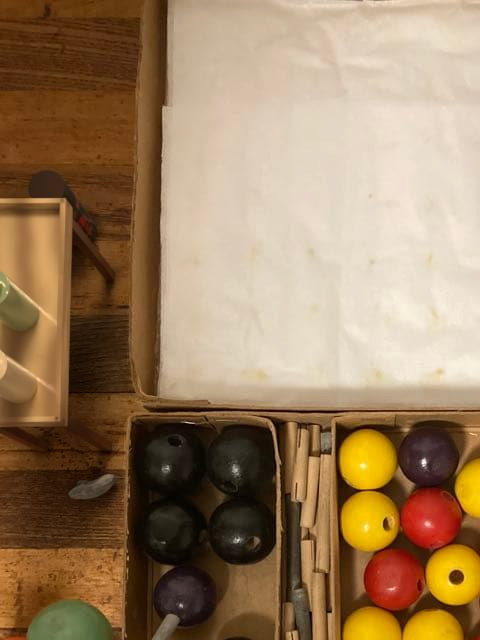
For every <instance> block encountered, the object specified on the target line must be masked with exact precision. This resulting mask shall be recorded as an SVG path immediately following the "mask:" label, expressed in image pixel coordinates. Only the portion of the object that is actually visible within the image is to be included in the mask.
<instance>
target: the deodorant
mask: <svg viewBox="0 0 480 640" xmlns="http://www.w3.org/2000/svg"><path fill="white" fill-rule="evenodd" d="M27 185H28V186H27V190H28V195H29V198H66V200H67V201H68V202H69V204H70V205H71V206H72V208H73V217H72V218H73V219H74V221H75V222H76V223H77V224H78V226H79V227H80V228H81V229H82V231H83V232H84V233H85V234H86V236H87V237H88V238H89V240H90V241H91V242H92V243H93V241H94V239H96V236H97V234H98V233H97V232H98V227H97V224H96V222H95V220H94V219H93V217H92V216H91V214H89V211H87V210H86V208H85V207H84V205H83V204H82V203H81V201H80V200H79V199H78V197H77V196H76V195H75V193H74V192H73V190H72V189H71V188H70V186H69V185H68V184H67V182H66V181H65V180H64V178H63V177H62V176H61V175H60V174H59V173H58V172H56V171H53V170H50V169H43V170H40V171H38V172H36V173H35V174H34V175H32V177H31V178H30V180H29V182H28V184H27ZM72 246H75V247H78V246H77V245H76V244H75V243H74V241H73V240H72Z"/></svg>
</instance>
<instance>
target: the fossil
mask: <svg viewBox="0 0 480 640" xmlns="http://www.w3.org/2000/svg"><path fill="white" fill-rule="evenodd" d="M116 480H117V478H116V476H115V475H114V474H112V473H111V474H110V473H107V474H104V475H102V476H100V477H98V478H97V479H94V480H90V481H88V480H85V479H82V480H78V481H76V486H75V487H74V488H72V489H71V490H70V491H69V492H68V496H69V497H70V498H72V499H75V500H90V499H94V498H97V497H99V496H102V495H103V494H105V493H107V492H108V491H109V490H110V489H111V488H112V487H113V486H114V484H115V482H116Z"/></svg>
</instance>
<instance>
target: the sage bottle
mask: <svg viewBox="0 0 480 640" xmlns="http://www.w3.org/2000/svg"><path fill="white" fill-rule="evenodd" d="M38 318H39V308H38V305H37V303H36V302H35V301H34V300H33V299H32V298H31V297H30V296H29V295H27V294H26V293H25V292H24V291H23V290H22V289H21V288H20V287H19V286H17V285H16V284H15V283H14V282H13V281H12V280H11V279H10V278H9V277H7V276H6V275H5V274H4V273H3V272H2V271H0V322H1V323H3V324H4V325H5V326H7V327H8V328H9V329H11V330H13V331H18V332H22V331H26V330H29V329H30V328H32V327H33V326H34V325H35V324H36V323H37V321H38Z"/></svg>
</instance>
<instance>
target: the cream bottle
mask: <svg viewBox="0 0 480 640" xmlns="http://www.w3.org/2000/svg"><path fill="white" fill-rule="evenodd" d="M36 390H37V380H36V377H35V375H34V374H33V373H32V372H31V371H30V370H29V369H27V368H26V367H24V366H23V365H21V364H20V363H19V362H17V361H16V360H14V359H13V358H11V357H10V356H8V355H7V354H6V353H4V352H3V351H1V350H0V397H1V398H3V399H5V400H6V401H8V402H10V403H14V404H21V403H25V402H27V401H29V400H30V399H31V398H32V397H33V396H34V395H35V393H36Z"/></svg>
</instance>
